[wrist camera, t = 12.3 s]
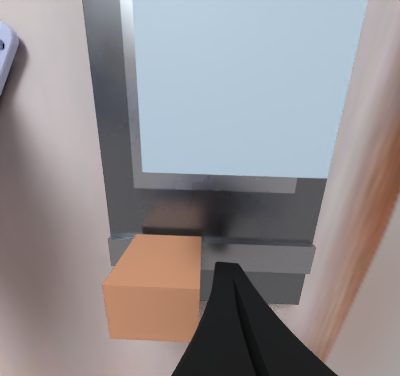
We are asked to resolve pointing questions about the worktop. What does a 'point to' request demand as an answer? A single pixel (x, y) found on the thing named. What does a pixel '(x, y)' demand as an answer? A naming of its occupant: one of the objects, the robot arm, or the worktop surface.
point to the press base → (192, 182)
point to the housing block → (243, 84)
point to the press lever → (155, 289)
